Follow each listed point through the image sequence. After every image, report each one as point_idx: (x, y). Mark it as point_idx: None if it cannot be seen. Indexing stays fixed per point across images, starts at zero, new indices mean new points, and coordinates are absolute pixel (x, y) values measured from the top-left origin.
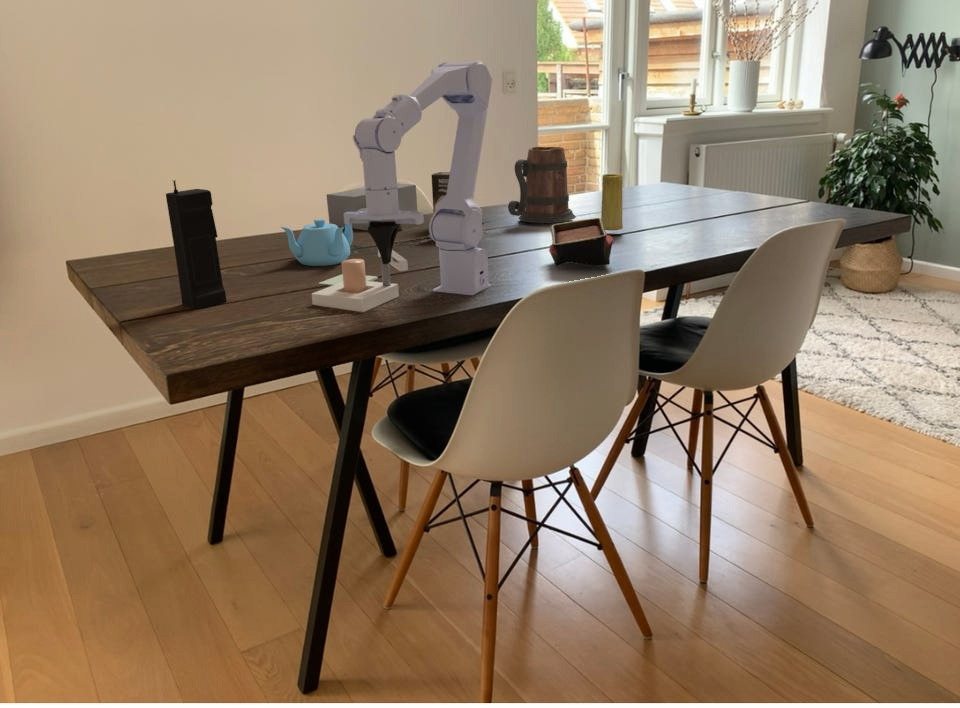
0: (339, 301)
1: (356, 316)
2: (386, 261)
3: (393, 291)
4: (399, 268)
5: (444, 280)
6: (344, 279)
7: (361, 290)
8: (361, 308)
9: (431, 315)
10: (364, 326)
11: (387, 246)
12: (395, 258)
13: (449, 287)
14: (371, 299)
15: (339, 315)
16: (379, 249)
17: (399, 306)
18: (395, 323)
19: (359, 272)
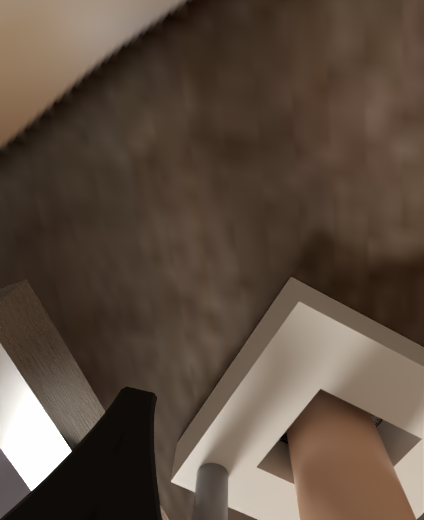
0: (397, 345)
1: (315, 227)
2: (119, 396)
3: (188, 443)
4: (14, 287)
5: (12, 503)
6: (395, 476)
7: (309, 426)
8: (298, 285)
9: (6, 198)
10: (269, 66)
11: (35, 491)
12: (43, 416)
13: (4, 472)
14: (260, 342)
15: (387, 251)
16: (143, 482)
17: (157, 332)
18: (134, 98)
19: (328, 497)
